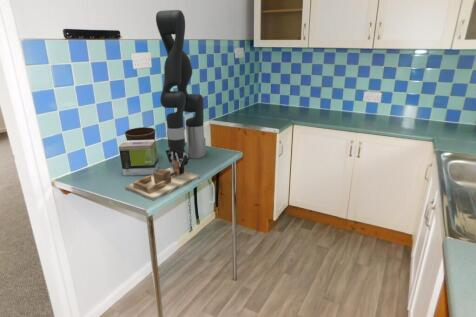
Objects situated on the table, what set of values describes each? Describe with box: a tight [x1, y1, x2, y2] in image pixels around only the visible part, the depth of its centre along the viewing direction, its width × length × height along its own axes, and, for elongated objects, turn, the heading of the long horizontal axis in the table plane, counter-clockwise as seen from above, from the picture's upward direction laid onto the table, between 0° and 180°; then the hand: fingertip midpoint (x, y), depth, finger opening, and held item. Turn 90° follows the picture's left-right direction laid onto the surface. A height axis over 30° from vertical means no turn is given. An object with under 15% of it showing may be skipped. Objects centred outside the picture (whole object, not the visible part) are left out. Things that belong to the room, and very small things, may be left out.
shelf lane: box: [124, 166, 201, 201], centre depth 140 cm, size 27×18×4 cm, turn 144°
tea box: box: [118, 139, 159, 176], centre depth 151 cm, size 15×10×15 cm, turn 92°
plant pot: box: [124, 126, 156, 140], centre depth 164 cm, size 15×15×16 cm
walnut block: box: [154, 159, 181, 184], centre depth 141 cm, size 14×5×7 cm, turn 149°
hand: (178, 172), depth 147 cm, fingers closed on walnut block, 3 cm apart
